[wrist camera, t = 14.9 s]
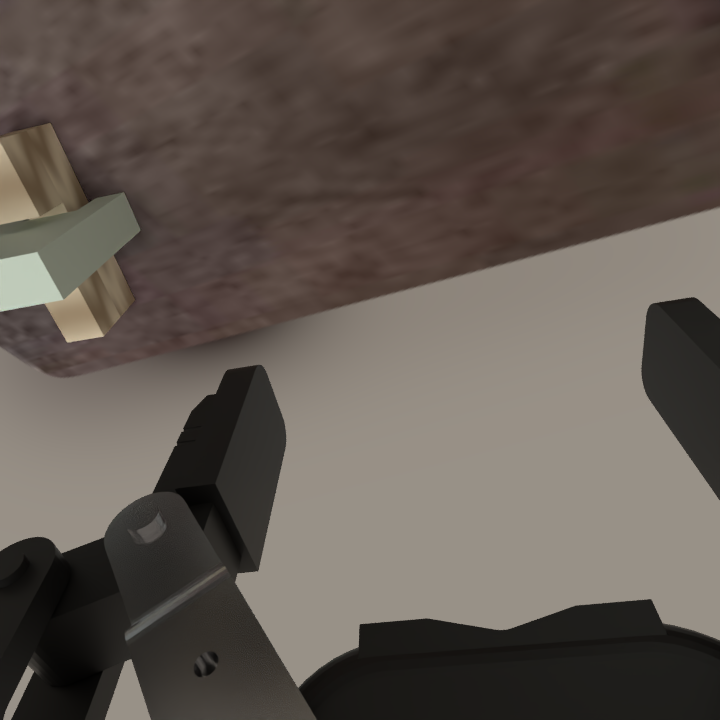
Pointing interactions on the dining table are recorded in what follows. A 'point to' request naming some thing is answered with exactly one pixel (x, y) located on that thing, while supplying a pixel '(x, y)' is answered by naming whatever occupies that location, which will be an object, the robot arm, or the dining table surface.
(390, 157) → the dining table surface
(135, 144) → the dining table surface
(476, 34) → the dining table surface
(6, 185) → the birch slotted plate
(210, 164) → the dining table surface
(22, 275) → the mint green upright block
